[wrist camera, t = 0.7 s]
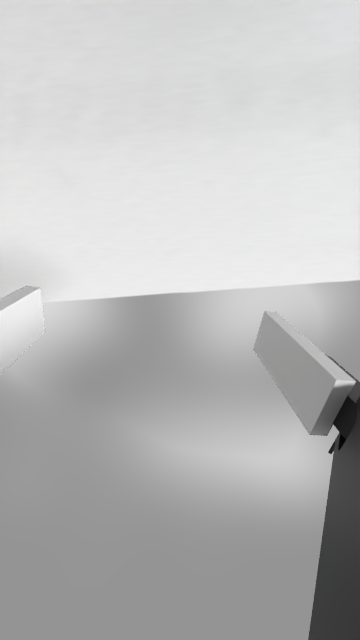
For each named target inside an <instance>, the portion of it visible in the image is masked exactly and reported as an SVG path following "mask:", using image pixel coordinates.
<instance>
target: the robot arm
mask: <svg viewBox="0 0 360 640" xmlns="http://www.w3.org/2000/svg"><path fill="white" fill-rule="evenodd" d="M44 332H45V325H44V315H43V306H42V297H41V288H39V287H30V286H25V287H23V288H21V289H19V290H17V291H15V292H13V293H11V294H9V295H7V296H5V297H3V298H2V299H0V375H1V374H2V373H3V372H4V371H5V370H6V369H7V368H8V367H9V366H11V364H13V362H15V361H16V360H17V359H18V357H20V356H21V355H22V354H23V353H24V352H25V351H26V350H27V349H28V348H29V347H30V346H31V345H32V344H33V343H34V342H35V341H36V340H37V339H38V338H39V337H40V336H41V335H42V334H43V333H44ZM254 351H255V353H256V354H257V356H258V357H259V359H260V360H261V362H262V363H263V365H264V366H265V368H266V369H267V371H268V372H269V374H270V375H271V377H272V378H273V380H274V381H275V383H276V385H277V386H278V388H279V389H280V391H281V392H282V394H283V395H284V397H285V398H286V399H287V401H288V403H289V404H290V406H291V407H292V409H293V410H294V412H295V413H296V415H297V416H298V418H299V419H300V421H301V422H302V424H303V426H304V427H305V429H306V430H307V432H308V433H309V434H310V435H324V436H327V435H328V433H329V431H330V429H331V427H332V425H333V424H334V426H336V428H337V429H338V430H339V435H338V436H337V438H336V440H335V442H334V443H333V445H332V447H331V448H330V450H329V453H330V454H332V452H333V451H334V455H333V463H332V470H331V477H330V485H329V492H328V499H327V506H326V514H325V522H324V529H323V536H322V544H321V551H320V558H319V565H318V573H317V580H316V588H315V595H314V602H313V610H312V617H311V625H310V632H309V639H308V640H360V382H359V381H358V380H357V379H355V378H354V377H353V376H352V375H351V374H349V373H348V372H347V371H345V369H344V368H343V367H341V366H339V365H338V363H337V362H336V361H334V360H333V359H332V358H331V357H329V356H327V355H325V354H324V353H323V352H322V351H320V350H319V349H318V348H317V347H316V346H315V345H313V344H312V343H311V342H310V341H309V340H308V339H307V338H305V337H304V336H303V335H302V334H301V333H300V332H299V331H297V330H296V329H295V328H294V327H293V326H292V325H291V324H289V323H288V322H287V321H286V320H285V319H284V318H283V317H281V316H280V315H279V314H278V313H277V312H269V311H265V312H264V315H263V318H262V322H261V325H260V328H259V332H258V335H257V339H256V342H255V345H254Z"/></svg>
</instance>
